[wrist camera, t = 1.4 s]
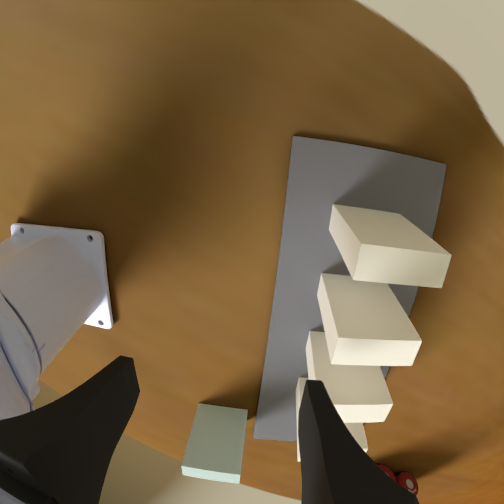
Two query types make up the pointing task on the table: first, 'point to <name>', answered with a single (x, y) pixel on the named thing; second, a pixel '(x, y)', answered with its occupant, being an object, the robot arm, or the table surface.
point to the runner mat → (330, 252)
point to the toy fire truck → (402, 479)
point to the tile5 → (387, 248)
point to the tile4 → (365, 323)
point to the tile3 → (348, 384)
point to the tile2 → (354, 428)
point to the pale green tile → (216, 443)
